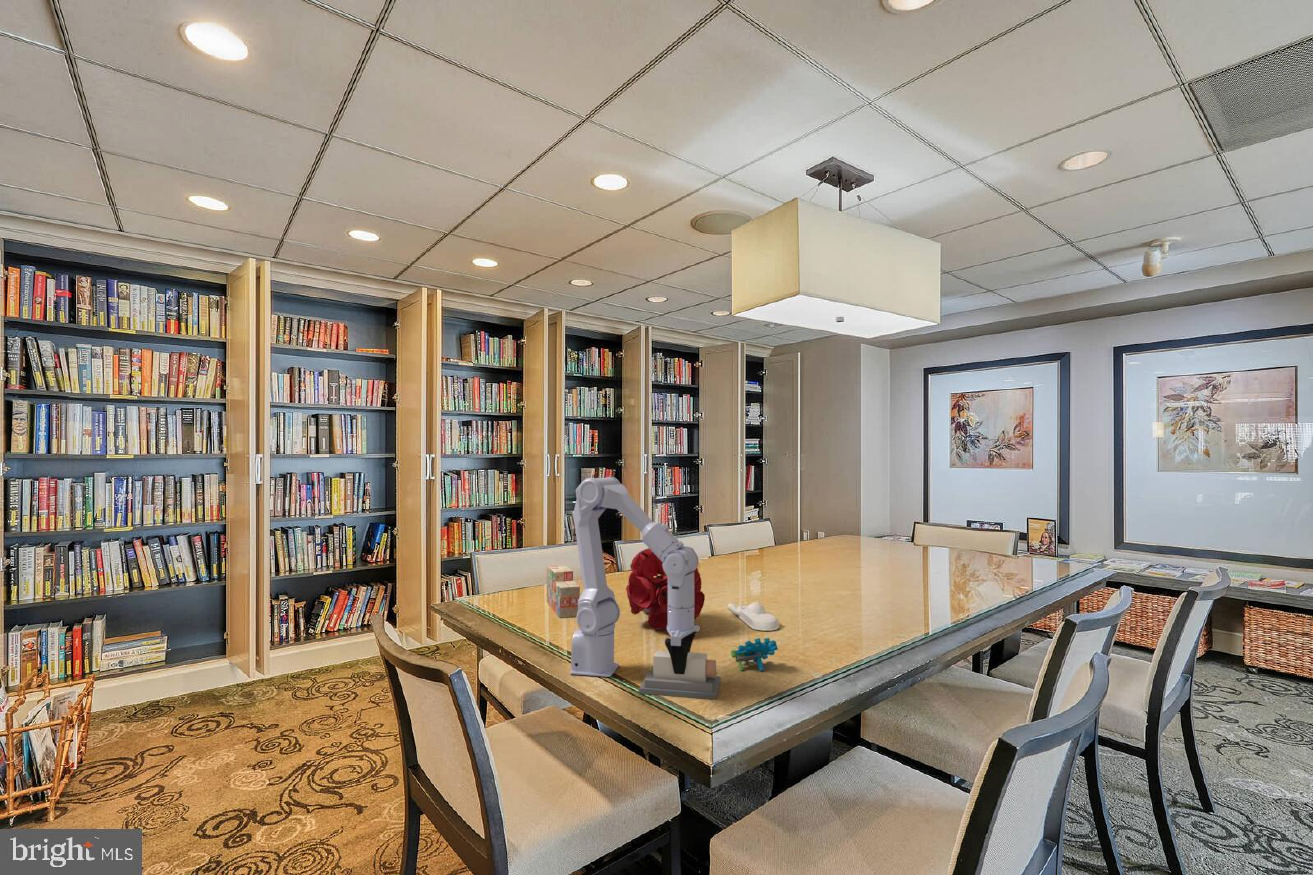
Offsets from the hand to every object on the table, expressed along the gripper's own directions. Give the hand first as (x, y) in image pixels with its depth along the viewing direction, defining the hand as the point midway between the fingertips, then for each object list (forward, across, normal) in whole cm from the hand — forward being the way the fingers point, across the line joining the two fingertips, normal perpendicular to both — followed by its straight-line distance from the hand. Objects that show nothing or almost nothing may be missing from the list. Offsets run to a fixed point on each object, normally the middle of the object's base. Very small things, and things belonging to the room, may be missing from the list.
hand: (680, 669), depth 126 cm
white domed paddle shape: (+4, +53, -14) cm, 55 cm away
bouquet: (+4, +45, +12) cm, 47 cm away
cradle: (+4, 0, 0) cm, 4 cm away
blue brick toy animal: (+4, +16, -15) cm, 22 cm away
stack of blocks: (+4, +56, +47) cm, 73 cm away
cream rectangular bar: (+2, 0, 0) cm, 2 cm away
